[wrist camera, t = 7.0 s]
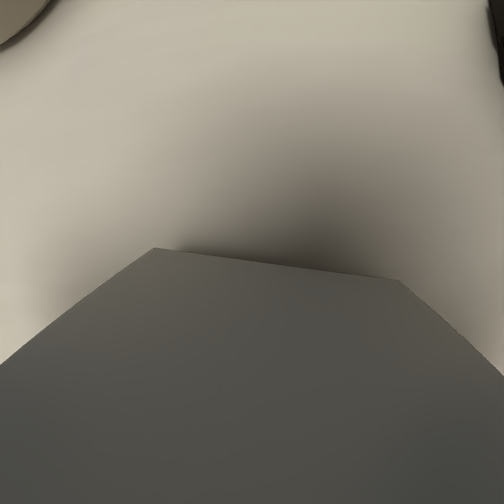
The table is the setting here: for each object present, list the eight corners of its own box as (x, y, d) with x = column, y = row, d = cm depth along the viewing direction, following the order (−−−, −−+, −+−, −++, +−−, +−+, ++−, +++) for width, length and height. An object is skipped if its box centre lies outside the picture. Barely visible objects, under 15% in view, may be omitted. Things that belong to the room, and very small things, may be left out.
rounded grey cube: (398, 280, 9) (604, 494, 1) (338, 448, 11) (374, 633, 2) (154, 247, 9) (-107, 468, 1) (155, 428, 11) (87, 613, 2)
